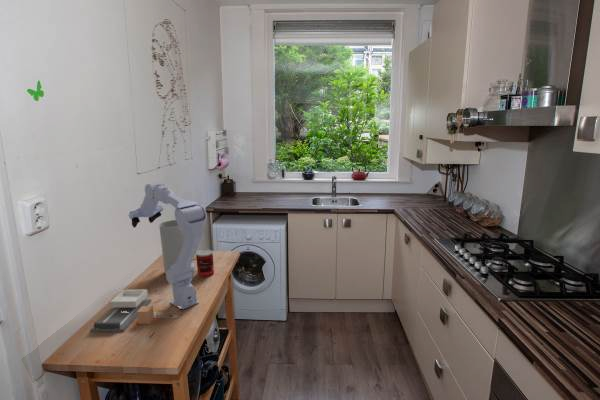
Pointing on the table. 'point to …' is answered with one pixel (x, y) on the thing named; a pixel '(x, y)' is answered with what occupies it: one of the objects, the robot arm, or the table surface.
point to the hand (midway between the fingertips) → (141, 223)
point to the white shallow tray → (129, 298)
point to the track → (118, 319)
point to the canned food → (205, 263)
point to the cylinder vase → (171, 242)
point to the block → (145, 314)
